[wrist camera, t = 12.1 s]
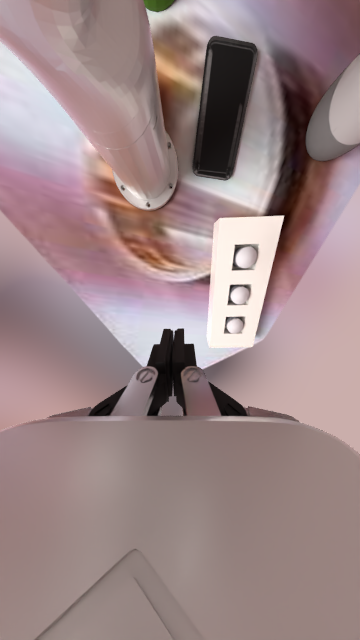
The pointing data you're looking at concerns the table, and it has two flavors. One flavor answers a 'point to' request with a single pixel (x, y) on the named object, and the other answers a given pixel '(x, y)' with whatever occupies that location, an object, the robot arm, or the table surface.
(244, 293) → the knob mid
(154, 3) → the wine bottle
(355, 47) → the table surface
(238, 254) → the knob
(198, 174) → the phone
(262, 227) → the console
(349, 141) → the smart speaker
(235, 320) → the knob
